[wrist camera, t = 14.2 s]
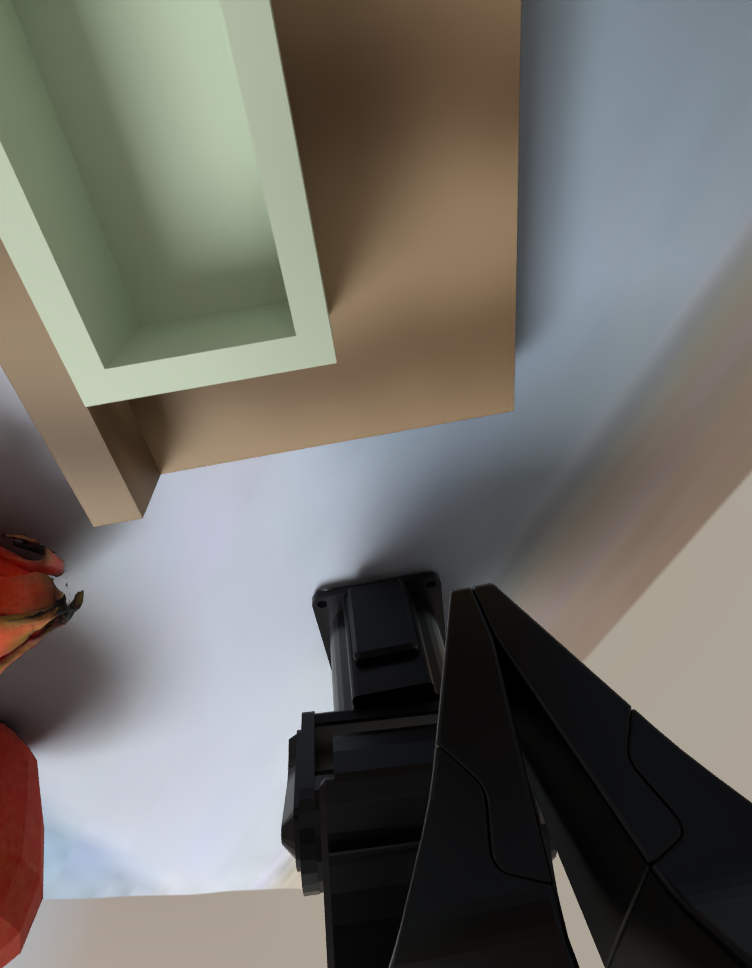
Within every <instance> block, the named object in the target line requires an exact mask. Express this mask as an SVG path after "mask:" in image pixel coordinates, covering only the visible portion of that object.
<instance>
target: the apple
mask: <svg viewBox="0 0 752 968" xmlns="http://www.w3.org/2000/svg"><path fill="white" fill-rule="evenodd" d="M43 864H44V824H43V815H42V806H41V797H40V787H39V777H38V766H37V760H36V758H35V757H34V755H33V753H32V752H31V750H30V749H29V748H28V746H27V745H26V744H25V743H24V742H23V741H22V740H21V739H20V738H19V737H18V735H17V734H16V733H15V732H14V731H13V730H12V729H10V728H9V727H7V726H6V725H4V724H3V723H0V968H3V967H4V966H5V965H6V964H7V963H9V962H10V961H11V960H12V959H14V958H15V957H16V956H17V955H19V954H20V953H21V950H22V948H23V945H24V943H25V940H26V938H27V935H28V933H29V931H30V928H31V926H32V923H33V921H34V918H35V916H36V913H37V911H38V909H39V906H40V904H41V901H42V899H43Z"/></svg>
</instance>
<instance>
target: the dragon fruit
mask: <svg viewBox="0 0 752 968" xmlns="http://www.w3.org/2000/svg"><path fill="white" fill-rule="evenodd" d="M3 535H4V536H5V537H10V538H13V539H20V540H23V543H17V542H15V541H13V542H11V543H13V545H14V546H17V547H19V548H22V549H25V550H28V551H31V552H34V553H37V554H40V555H42V556H43V557H44V558H43V559H42V560H38V561H31V560H27V559H24V558H22V557H21V556H19V555H17V554H15V553H13V552H11V551H10V550H8V549H6V548H3V547H2V546H0V674H1V673H2V672H3V671H4V670H5V669H6V668H7V667H8V666H9V665H10V664H11V663H13V661H14V660H16V659H17V658H19V657H21V656H22V655H23V654H25V653H26V652H27V651H28V650H30V649H32V648H33V647H35V646H36V645H37V644H38V643H39V642H40V641H41V639H42V638H44V637H45V636H46V634H48V633H49V632H50V633H51V631H52V630H54V629H55V628H58V627H60V626H62V625H65V624H66V623H67V622H68V621H69V620H70V619H71V617H72V616H73V614H74V612H76V611H77V610H78V609H79V608H80V607H81V605H82V602H83V596H84V591H83V590H82V591H81V592H78V593H77V594H76V595H75V598H74V600H73V601H72V602H71V603H70V602H69V605H68V607H67V603H66V596H65V594H64V596H63V592H61V591H60V590H59V589H58V588H57V587H56V586H55V584H54V582H53V580H54V579H53V578H50V577H49V576H48V575H53V576H55V577H59V576H61V575H62V574H63V573H64V569H65V566H64V561H63V560H62V559H60V558H59V557H57V556H56V555H54V554H53V553H55V552H53V551H52V552H51V550H50V551H49V549H47V548H46V547H45V546H44V545H41V544H40V543H39V541H38V540H36V539H33V538H28V537H25V536H24V535H25V534H24V535H23V534H22V535H6V534H3ZM65 572H67V571H65ZM66 586H67V583H66ZM67 587H68V586H67ZM69 595H70V594H69Z"/></svg>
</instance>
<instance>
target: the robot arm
mask: <svg viewBox="0 0 752 968" xmlns="http://www.w3.org/2000/svg"><path fill="white" fill-rule="evenodd" d="M428 581H432V582H428ZM320 601H325V602H320ZM312 607H313V610H314V613H315V617H316V620H317V623H318V627H319V630H320V633H321V637H322V640H323V643H324V647H325V650H326V653H327V657H328V660H329V663H330V667H331V670H332V684H333V701H334V711H333V712H324V713H315V711H312V712H303V713H302V725H301V730H297V734H296V735H295V736H293V737H292V738H290V739H289V761H288V781H287V789H286V797H285V804H284V811H283V819H282V827H281V840H282V845H283V846H284V847H285V848H286V849H287V850H288V851H289V852H290V853H291V854H292V856H293V857H294V858H295V859H296V868H297V872H301V878H302V888H303V894H304V896H309V895H317V894H320V893H322V892H324V906H325V925H326V926H325V927H326V947H327V965H328V968H579V965H578V962H577V960H576V957H575V954H574V952H573V949H572V946H571V943H570V941H569V938H568V934H567V931H566V926H565V922H564V918H563V914H562V910H561V906H560V901H559V897H558V893H557V887H556V881H555V876H554V870H553V864H552V860H553V859H554V858H555V857H556V853H557V852H558V854H559V857H560V859H561V862H562V864H563V866H564V869H565V871H566V874H567V876H568V879H569V881H570V884H571V886H572V888H573V891H574V893H575V896H576V898H577V901H578V903H579V905H580V908H581V910H582V913H583V915H584V918H585V920H586V923H587V925H588V928H589V930H590V932H591V935H592V937H593V940H594V942H595V945H596V947H597V949H598V952H599V954H600V957H601V959H602V962H603V964H604V966H605V968H752V803H751V802H750V801H749V800H747V799H746V798H745V797H743V796H742V795H741V794H739V793H738V792H737V791H735V790H734V789H733V788H731V787H730V786H729V785H727V784H726V783H724V782H723V781H722V780H720V779H719V778H718V777H716V776H715V775H714V774H712V773H711V772H710V771H708V770H707V769H706V768H705V767H703V766H702V765H701V764H699V763H698V762H697V761H696V760H694V759H693V758H692V757H690V756H689V755H688V754H686V753H685V752H684V751H682V750H681V749H680V748H679V747H678V746H677V745H675V744H674V743H673V742H672V741H671V740H669V739H668V738H667V737H666V736H664V734H662V733H661V732H660V731H659V730H658V729H656V728H655V727H654V726H653V725H652V724H651V723H649V722H648V721H647V720H646V719H645V718H644V717H643V716H642V715H641V714H640V713H638V712H637V711H636V710H634V709H633V710H631V706H630V705H629V704H628V703H627V702H626V701H625V700H623V699H622V698H621V697H620V696H619V695H618V694H617V693H616V692H615V691H613V690H612V689H611V688H610V687H609V686H608V685H607V684H606V683H604V682H603V681H602V680H601V679H600V678H599V677H598V676H596V675H595V674H594V673H593V672H592V671H591V670H590V669H589V668H588V667H586V666H585V665H584V664H583V663H582V662H581V661H580V660H579V659H577V658H576V657H575V656H574V655H573V654H572V653H571V652H570V651H568V650H567V649H566V648H565V647H564V646H563V645H562V644H561V643H559V642H558V641H557V640H556V639H555V638H554V637H553V636H551V635H550V634H549V633H548V632H547V631H546V630H545V629H544V628H542V627H541V626H540V625H539V624H538V623H537V622H536V621H535V620H533V619H532V618H531V617H530V616H529V615H528V614H527V613H526V612H524V611H523V610H522V609H521V608H520V607H519V606H518V605H517V604H515V603H514V602H513V601H512V600H511V599H510V598H509V597H508V596H506V595H505V594H504V593H503V592H502V591H501V590H500V589H499V588H497V587H496V586H495V585H494V584H491V583H488V584H482V585H477V586H474V587H473V588H472V589H471V588H469V587H466V588H461V589H456V590H452V591H451V592H450V599H449V609H448V620H447V630H446V636H445V625H444V614H443V603H442V592H441V582H440V579H439V576H438V574H437V573H436V572H433V571H430V572H423V573H418V574H413V575H407V576H402V577H396V578H391V579H386V580H380V581H375V582H370V583H364V584H359V585H353V586H348V587H343V588H337V589H332V590H327V591H321V592H318V593H316V594H314V595H313V597H312Z"/></svg>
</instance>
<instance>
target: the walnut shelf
mask: <svg viewBox="0 0 752 968" xmlns="http://www.w3.org/2000/svg"><path fill="white" fill-rule="evenodd" d="M271 4H272V9H273V15H274V20H275V25H276V31H277V36H278V42H279V47H280V52H281V58H282V63H283V69H284V74H285V79H286V85H287V90H288V96H289V101H290V106H291V112H292V117H293V123H294V128H295V133H296V139H297V144H298V149H299V155H300V160H301V166H302V171H303V176H304V182H305V187H306V193H307V198H308V203H309V209H310V214H311V220H312V225H313V230H314V236H315V241H316V247H317V252H318V257H319V263H320V268H321V274H322V279H323V284H324V290H325V295H326V301H327V306H328V311H329V317H330V323H331V330H332V336H333V342H334V348H335V355H336V361H337V363H334V364H328V365H323V366H317V367H311V368H305V369H300V370H294V371H288V372H283V373H277V374H271V375H266V376H260V377H254V378H248V379H243V380H237V381H231V382H226V383H220V384H214V385H208V386H203V387H197V388H191V389H186V390H180V391H174V392H169V393H163V394H157V395H151V396H146V397H140V398H134V399H129V400H123V401H117V402H111V403H106V404H100V405H94V406H89V407H85V405H84V403H83V401H82V399H81V397H80V395H79V393H78V391H77V389H76V387H75V385H74V383H73V381H72V379H71V377H70V375H69V373H68V371H67V369H66V368H65V366H64V364H63V362H62V360H61V358H60V356H59V354H58V352H57V350H56V348H55V346H54V344H53V342H52V340H51V338H50V336H49V334H48V332H47V330H46V328H45V326H44V324H43V322H42V320H41V318H40V316H39V314H38V312H37V310H36V308H35V306H34V304H33V302H32V300H31V298H30V296H29V294H28V292H27V290H26V288H25V286H24V284H23V282H22V280H21V278H20V276H19V274H18V272H17V270H16V268H15V266H14V264H13V262H12V260H11V258H10V256H9V254H8V252H7V250H6V248H5V246H4V244H3V242H2V240H1V238H0V365H1V367H2V369H3V371H4V372H5V374H6V376H7V378H8V379H9V381H10V383H11V384H12V386H13V388H14V390H15V391H16V393H17V395H18V397H19V398H20V400H21V402H22V403H23V405H24V407H25V409H26V410H27V412H28V414H29V416H30V417H31V419H32V421H33V423H34V424H35V426H36V428H37V429H38V431H39V433H40V435H41V436H42V438H43V440H44V442H45V443H46V445H47V447H48V449H49V450H50V452H51V454H52V455H53V457H54V459H55V461H56V462H57V464H58V466H59V468H60V469H61V471H62V473H63V475H64V476H65V478H66V480H67V481H68V483H69V485H70V487H71V488H72V490H73V492H74V494H75V495H76V497H77V499H78V500H79V502H80V504H81V506H82V507H83V509H84V511H85V513H86V514H87V516H88V518H89V520H90V521H91V523H92V525H93V526H94V527H97V526H102V525H108V524H113V523H119V522H124V521H130V520H135V519H141V518H143V516H144V514H145V511H146V509H147V506H148V504H149V501H150V499H151V497H152V494H153V492H154V489H155V487H156V484H157V482H158V480H159V477H160V475H161V474H165V473H170V472H176V471H181V470H187V469H193V468H198V467H204V466H209V465H215V464H220V463H226V462H232V461H237V460H243V459H248V458H254V457H259V456H265V455H271V454H276V453H282V452H287V451H293V450H298V449H304V448H310V447H315V446H321V445H326V444H332V443H337V442H343V441H349V440H354V439H360V438H365V437H371V436H376V435H382V434H388V433H393V432H399V431H404V430H410V429H415V428H421V427H427V426H432V425H438V424H443V423H449V422H454V421H460V420H466V419H471V418H477V417H482V416H488V415H493V414H499V413H505V412H510V411H514V374H515V318H516V262H517V206H518V149H519V93H520V37H521V0H271Z"/></svg>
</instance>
